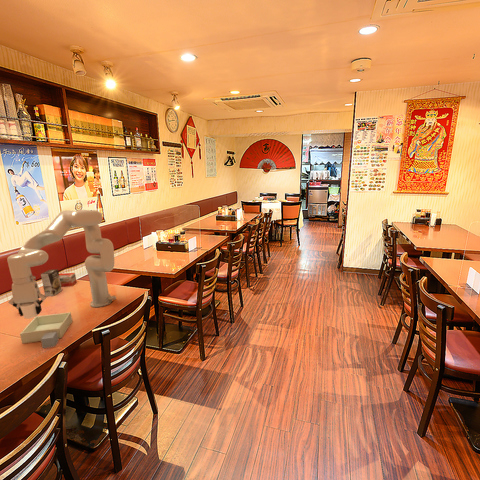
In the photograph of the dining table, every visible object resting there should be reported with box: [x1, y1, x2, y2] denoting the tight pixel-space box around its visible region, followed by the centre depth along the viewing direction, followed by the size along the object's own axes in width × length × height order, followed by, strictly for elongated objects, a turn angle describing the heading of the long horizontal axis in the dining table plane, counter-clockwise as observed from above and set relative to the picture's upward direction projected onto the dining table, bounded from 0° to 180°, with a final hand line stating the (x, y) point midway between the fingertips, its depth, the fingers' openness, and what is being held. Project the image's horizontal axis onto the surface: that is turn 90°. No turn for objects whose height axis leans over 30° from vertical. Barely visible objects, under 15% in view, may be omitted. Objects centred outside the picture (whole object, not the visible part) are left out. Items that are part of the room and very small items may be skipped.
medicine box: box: [59, 272, 77, 288], centre depth 209 cm, size 15×8×8 cm, turn 98°
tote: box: [19, 311, 73, 344], centre depth 148 cm, size 17×17×6 cm
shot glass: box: [20, 302, 39, 320], centre depth 137 cm, size 7×7×7 cm
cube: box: [40, 332, 59, 349], centre depth 137 cm, size 5×5×5 cm
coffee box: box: [40, 268, 63, 297], centre depth 194 cm, size 9×6×16 cm
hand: (31, 313), depth 138 cm, fingers closed on shot glass, 6 cm apart
